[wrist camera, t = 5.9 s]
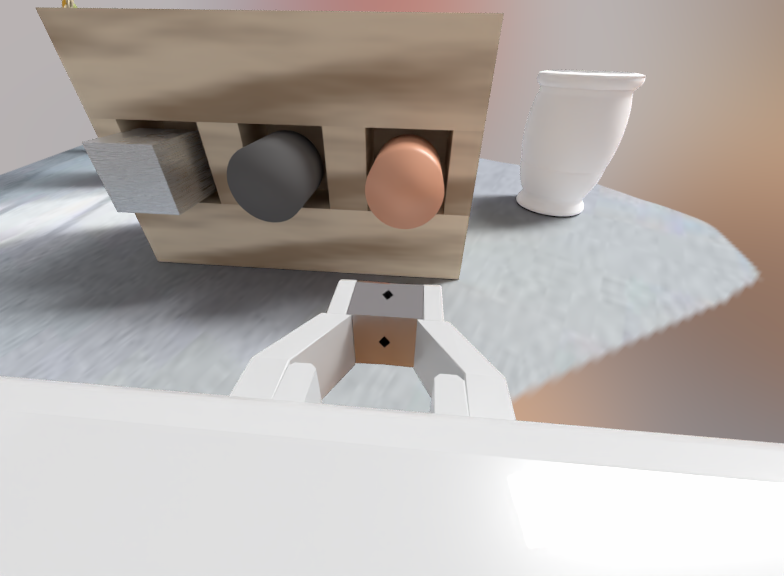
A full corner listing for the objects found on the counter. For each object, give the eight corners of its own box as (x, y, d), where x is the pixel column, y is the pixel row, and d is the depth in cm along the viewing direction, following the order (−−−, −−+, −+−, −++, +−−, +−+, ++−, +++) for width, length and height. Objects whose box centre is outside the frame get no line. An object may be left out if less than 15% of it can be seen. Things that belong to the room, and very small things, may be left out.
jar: (609, 213, 41) (671, 74, 32) (550, 227, 38) (602, 74, 29) (545, 188, 49) (581, 69, 40) (492, 197, 45) (518, 69, 36)
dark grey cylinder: (308, 224, 22) (297, 146, 19) (238, 220, 22) (216, 143, 19) (326, 198, 26) (319, 131, 23) (266, 195, 26) (252, 128, 23)
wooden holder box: (458, 279, 28) (503, 13, 18) (158, 261, 30) (35, 7, 19) (451, 230, 36) (478, 26, 26) (214, 218, 38) (149, 21, 27)
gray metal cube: (179, 215, 22) (151, 144, 20) (117, 211, 23) (81, 142, 20) (216, 190, 26) (198, 129, 24) (163, 188, 27) (139, 127, 24)
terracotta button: (439, 230, 21) (448, 152, 19) (366, 227, 22) (363, 149, 19) (437, 203, 26) (444, 135, 23) (375, 200, 26) (374, 132, 23)
